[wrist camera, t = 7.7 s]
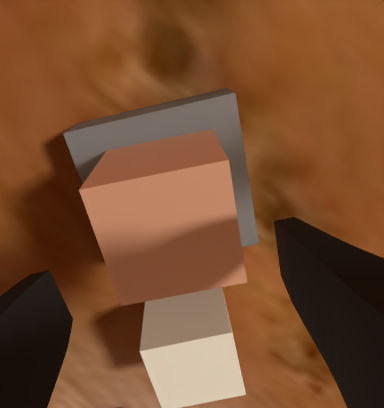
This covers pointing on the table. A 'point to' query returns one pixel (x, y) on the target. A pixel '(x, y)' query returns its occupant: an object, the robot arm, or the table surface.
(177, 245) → the terracotta cube
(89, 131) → the gray slab
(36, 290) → the robot arm
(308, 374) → the table surface
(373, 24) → the table surface
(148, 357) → the off-white cube
